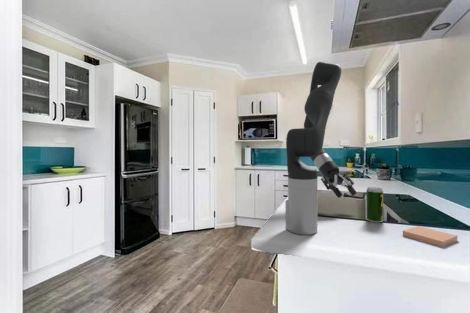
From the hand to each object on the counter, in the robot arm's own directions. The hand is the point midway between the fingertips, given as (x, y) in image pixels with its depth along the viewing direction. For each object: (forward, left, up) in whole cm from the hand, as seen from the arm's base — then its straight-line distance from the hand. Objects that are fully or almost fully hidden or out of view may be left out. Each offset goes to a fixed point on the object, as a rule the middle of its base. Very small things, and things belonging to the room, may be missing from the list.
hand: (347, 195), depth 100 cm
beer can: (+11, -4, -8) cm, 14 cm away
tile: (+22, -11, -7) cm, 26 cm away
